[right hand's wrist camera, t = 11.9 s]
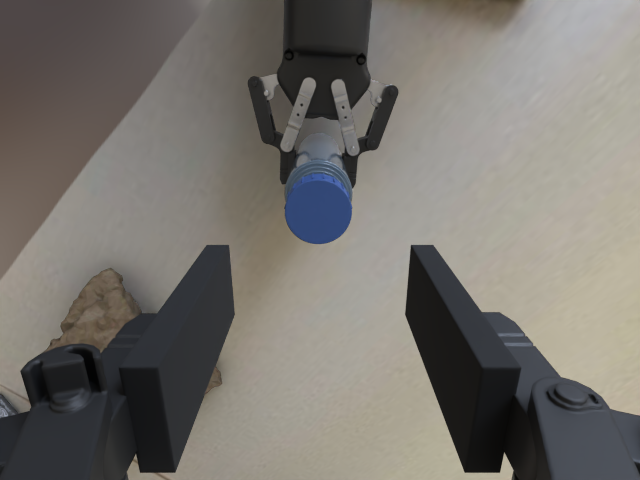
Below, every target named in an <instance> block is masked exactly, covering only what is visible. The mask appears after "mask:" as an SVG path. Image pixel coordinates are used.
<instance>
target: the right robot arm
mask: <svg viewBox="0 0 640 480" xmlns="http://www.w3.org/2000/svg"><path fill="white" fill-rule="evenodd" d="M234 315H235V312H234V300H233V288H232V276H231V264H230V252H229V245H206V247H205V248H204V250H203V251H202V252H201V254H200V255H199V257H198V258H197V259H196V261H195V262H194V264H193V265H192V266H191V268H190V269H189V270H188V272H187V273H186V275H185V276H184V277H183V279H182V280H181V282H180V283H179V284H178V286H177V287H176V288H175V290H174V291H173V293H172V294H171V295H170V297H169V298H168V300H167V301H166V302H165V304H164V305H163V307H162V308H161V309H160V311H159V312H158V313H157V314H140V315H138V316H136V317H135V318H133V319H132V320H130V321H129V322H127V323H125V324H124V326H123V327H122V328H121V329H120V330H119V332H118V333H117V334H116V335H115V338H113V339H112V340H111V341H110V342H109V344H108V345H107V348H105V349H104V350H103V351H102V352H101V353H100V350H99V349H98V348H96V347H95V346H94V345H89V344H84V343H80V344H69V345H65V346H61V347H57V348H53V349H51V350H49V351H46V352H44V353H42V354H40V355H38V356H37V357H35V358H34V359H32V360H31V361H29V362H28V363H27V364H26V365H25V366H24V367H23V369H22V370H21V371H20V372H21V375H22V378H23V381H24V385H25V388H26V391H27V394H28V398H29V401H30V404H31V409H30V411H28V412H24V413H20V414H15V415H10V416H6V417H1V418H0V480H128V475H127V470H128V468H129V466H130V464H131V462H132V460H133V458H134V456H135V454H136V455H137V460H138V465H139V470H140V473H175V472H176V469H177V467H178V464H179V461H180V459H181V456H182V453H183V451H184V448H185V445H186V443H187V440H188V437H189V435H190V432H191V429H192V427H193V424H194V421H195V419H196V416H197V413H198V411H199V408H200V405H201V403H202V400H203V398H204V395H205V392H206V390H207V387H208V384H209V382H210V379H211V376H212V374H213V371H214V368H215V366H216V363H217V360H218V358H219V355H220V352H221V350H222V347H223V344H224V342H225V339H226V336H227V334H228V331H229V328H230V326H231V323H232V320H233V318H234ZM405 315H406V318H407V320H408V323H409V326H410V328H411V331H412V334H413V336H414V339H415V342H416V344H417V347H418V350H419V352H420V355H421V358H422V360H423V363H424V366H425V368H426V371H427V374H428V376H429V379H430V382H431V384H432V387H433V390H434V392H435V395H436V398H437V400H438V403H439V405H440V408H441V411H442V413H443V416H444V419H445V421H446V424H447V427H448V429H449V432H450V435H451V437H452V440H453V443H454V445H455V448H456V451H457V453H458V456H459V459H460V461H461V464H462V467H463V469H464V472H465V473H500V470H501V465H502V460H503V455H504V452H505V454H506V456H507V458H508V460H509V462H510V464H511V466H512V468H513V470H514V471H513V475H512V480H640V416H638V415H633V414H629V413H624V412H620V411H615V410H612V409H610V408H609V406H608V405H607V404H606V402H605V401H604V400H603V398H602V397H601V396H600V395H598V394H597V393H596V392H594V391H593V390H592V389H591V388H589V387H587V386H585V385H583V384H580V383H578V382H576V381H573V380H569V379H566V378H562V377H560V375H559V374H558V373H557V372H556V371H555V369H554V368H553V367H552V366H551V365H550V363H549V362H548V361H547V360H546V359H545V357H544V356H543V355H542V354H541V353H540V351H539V350H538V349H537V348H536V347H535V346H533V343H532V342H531V341H530V339H529V338H528V337H527V336H525V334H524V332H523V331H522V330H521V329H520V328H519V326H518V325H517V324H516V323H515V322H514V321H512V320H511V319H509V318H508V317H506V316H504V315H503V314H501V313H500V312H481V311H480V309H479V308H478V307H477V305H476V304H475V302H474V301H473V300H472V298H471V297H470V295H469V294H468V293H467V291H466V290H465V288H464V287H463V286H462V284H461V283H460V282H459V280H458V279H457V277H456V276H455V275H454V273H453V272H452V270H451V269H450V268H449V266H448V265H447V264H446V262H445V261H444V259H443V258H442V257H441V255H440V254H439V252H438V251H437V250H436V248H435V247H434V245H411V252H410V264H409V276H408V288H407V300H406V312H405Z"/></svg>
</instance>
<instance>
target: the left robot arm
mask: <svg viewBox="0 0 640 480" xmlns="http://www.w3.org/2000/svg"><path fill="white" fill-rule="evenodd" d="M371 7H372V0H284V39H283V60H282V63H281V65H280V67H279V69H278V71H277V74H273V75H268V76H264V77H255V76H253V77H251V78H250V79H249V80H248V87H249V91H250V95H251V99H252V103H253V107H254V111H255V115H256V119H257V122H258V126H259V130H260V134H261V138H262V141H263V142H264V143H266V144H270V145H273V146H275V147H277V148H278V149H279V150H280V153H281V162H280V180H281V183H282V184H286V182H287V180H288V177H289V174H290V171H291V168H292V166H293V163H294V160H295V157H296V150H294V144H295V142H296V139H297V136H298V134H299V131H300V129H301V126H302V123H303V121H304V118H318V117H324V118H327V119H330V120H338V121H339V125H340V129H341V132H342V136H343V140H344V144H345V153H342V159H343V162H344V165H345V168H346V171H347V174H348V176H349V179H350V182H351V186H352V188H353V187H354V185H355V183H356V172H357V160H358V156H359V155H360V154H361V153H362V152H365V151H369V150H375V149H377V148H378V146H379V144H380V141H381V138H382V136H383V133H384V130H385V128H386V125H387V122H388V120H389V117H390V114H391V112H392V109H393V106H394V104H395V101H396V98H397V95H398V89H397V87H396V86H394V85H385V84H383V83H380V82H377V81H374V80H371V77H370V74H369V71H368V68H367V52H368V41H369V29H370V18H371ZM277 85H280V86H281V88H282V89H283V91H284V93H285V94H286V96H287V97H288V99H289V100H290V102H291V104H292V105H293V107H294V108H293V110H292V113H291V116H290V119H289V121H288V124H287V128H286V130H285V133H284V134H282V133H280V132H277V131H276V129H275V124H274V120H273V116H272V112H271V108H270V103H269V100H271V99H273V98H274V95H275V87H276V86H277ZM367 90H368V91H369V92H370V93H371V104H372V105H373V106H375V110H374V113H373V115H372V118H371V121H370V124H369V126H368V129H367V132H366V135H365V136H364V137H361V138H358V139H357V136H356V131H355V126H354V122H353V118H352V113H351V109H352V108H353V107H354V106H355V104H356V103H357V102H358V101H359V99H360V98H361V97H362V96H363V94H364V93H365V92H366V91H367Z"/></svg>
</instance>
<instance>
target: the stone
mask: <svg viewBox="0 0 640 480" xmlns="http://www.w3.org/2000/svg"><path fill="white" fill-rule="evenodd" d="M122 281H123V278H122V276H121V275H120V274H118V273H116V272H115V271H114V270H113V269H111V268H109V269H106V270H104V271H101V272H100V273H99V274H98V275H96V276H94V277H93V278H92V279H91V280H90V281H89V282H88V284H87V285H86V286H85V287H84V289H83V290H82V291H81V293H80V294H79V297H78V298H77V299H76V300H75V301H74V302H73V305H72V306H71V307H70V310H69V313H68V315H67V316H66V318H65V319H64V320H63V321H62V322H61V326H60V327H61V329H62V332H63V333H64V334H63V335H62V336H61V337H60V338H59V339H53V340H51V343H50V346H49V347H48V348H47V350H45V351H44V352H46V351H49V350H51V349H53V348H57V347H61V346H65V345H69V344H80V343H84V344H89V345H94V346H95V347H96V348H98V349H99V350H100V353H101V352H102V351H103V350H104V349H105V348H107V345H108V344H109V342H110V341H111V340H112V339H113V338H115V335H116V334H117V333H118V332H119V330H120V329H121V328H122V327H123V326H124V324H125V323H127V322H129V321H130V320H132V319H133V318H135V317H136V316H138V315H140V314H141V310H140V308H139V306H138V304H137V303H136V302H134V299H133V297H132V296H131V294H130V293H128V292H126V291H125V289H124V287H123V285H122ZM44 352H43V353H44ZM41 354H42V353H41ZM221 384H222V379H221V376H220V371H219V370H217V368H216V367H215V368H214V371H213V374H212V376H211V379H210V382H209V384H208V387H207V390H206V392H205V394H206V393H207V392H208V391H210V390H211V389H212V388H213V387H215V386H220V385H221Z"/></svg>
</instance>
